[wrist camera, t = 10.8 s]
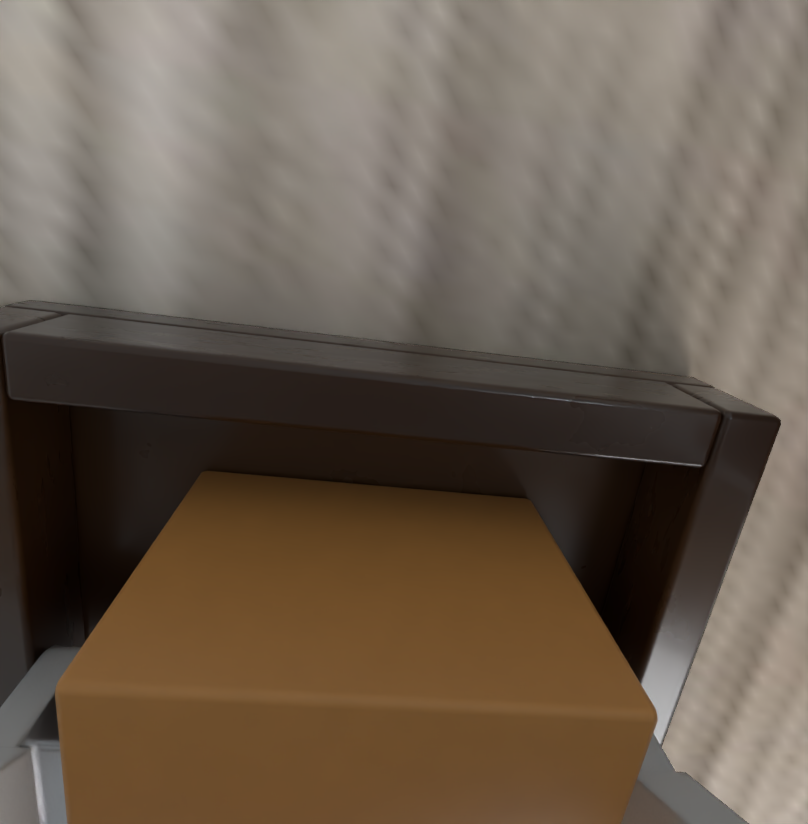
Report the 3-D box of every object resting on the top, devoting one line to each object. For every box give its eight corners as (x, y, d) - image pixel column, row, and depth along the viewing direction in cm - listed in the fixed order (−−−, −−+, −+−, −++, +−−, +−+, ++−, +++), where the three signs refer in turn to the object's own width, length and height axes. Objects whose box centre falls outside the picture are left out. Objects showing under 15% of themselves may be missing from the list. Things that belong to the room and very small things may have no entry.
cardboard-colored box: (201, 467, 8) (48, 687, 4) (531, 496, 8) (664, 715, 5) (197, 791, 10) (93, 1136, 6) (463, 799, 10) (517, 1122, 7)
